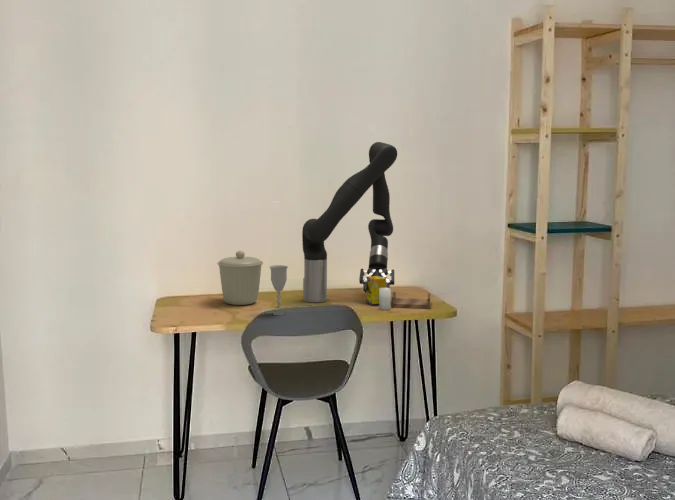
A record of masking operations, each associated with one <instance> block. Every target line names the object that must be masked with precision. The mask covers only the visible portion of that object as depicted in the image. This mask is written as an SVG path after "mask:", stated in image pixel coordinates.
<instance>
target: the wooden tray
mask: <svg viewBox="0 0 675 500" xmlns="http://www.w3.org/2000/svg"><path fill="white" fill-rule="evenodd" d="M396 293H397V292H396V291H393V292H392V294H391V308H393V309H395V308H396V309H418V310H419V309H420V310H421V309H424V310H425V309H426V310H428V309H429V310H431V293H430V292H427V298H405V297H402V298H401V297H400V298H399V297H396V295H397V294H396Z"/></svg>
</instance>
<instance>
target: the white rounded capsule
mask: <svg viewBox="0 0 675 500" xmlns="http://www.w3.org/2000/svg"><path fill="white" fill-rule="evenodd" d="M391 293H392V289H391V287H390V288H380V289H379V305H378V307H379V308H378V310H380V311H389V310H391V308H392V294H391Z"/></svg>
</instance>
